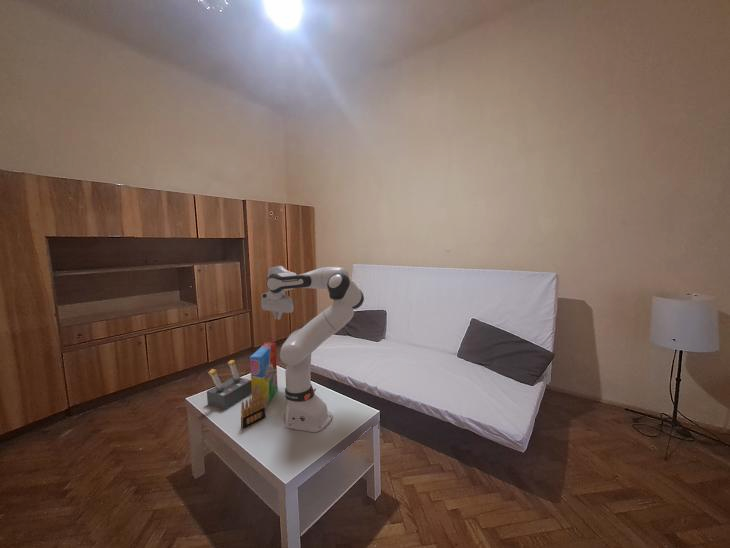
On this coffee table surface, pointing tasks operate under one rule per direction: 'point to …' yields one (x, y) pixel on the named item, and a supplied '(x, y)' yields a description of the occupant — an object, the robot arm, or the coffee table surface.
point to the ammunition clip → (252, 412)
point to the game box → (264, 372)
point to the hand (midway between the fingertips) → (277, 319)
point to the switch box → (229, 393)
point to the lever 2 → (234, 371)
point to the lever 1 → (216, 380)
